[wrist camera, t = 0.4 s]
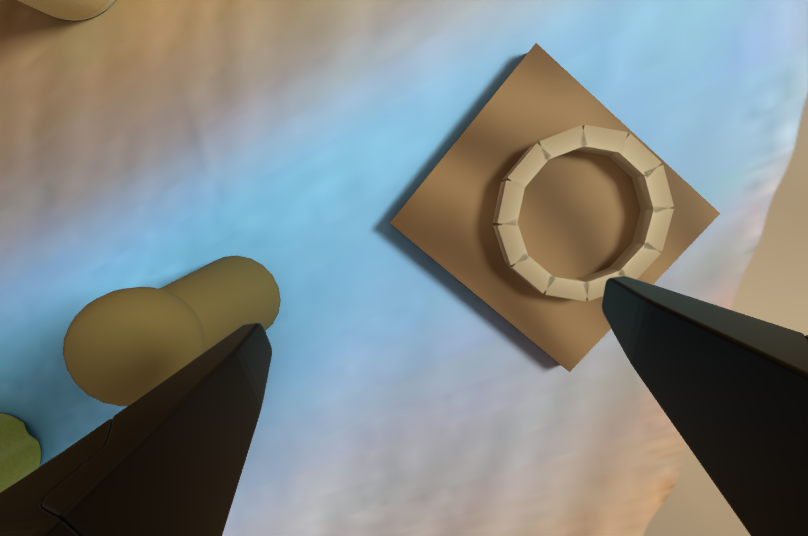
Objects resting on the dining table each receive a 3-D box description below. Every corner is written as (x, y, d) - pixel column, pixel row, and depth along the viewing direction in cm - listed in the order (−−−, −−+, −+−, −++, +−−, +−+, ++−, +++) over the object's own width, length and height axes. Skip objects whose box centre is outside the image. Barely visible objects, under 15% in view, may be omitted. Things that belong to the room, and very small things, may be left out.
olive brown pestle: (291, 327, 25) (203, 410, 14) (212, 347, 25) (66, 445, 15) (264, 245, 24) (149, 269, 13) (183, 268, 25) (5, 308, 14)
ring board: (561, 364, 25) (577, 380, 23) (390, 222, 24) (388, 223, 22) (704, 213, 24) (737, 213, 21) (529, 52, 22) (543, 32, 20)
